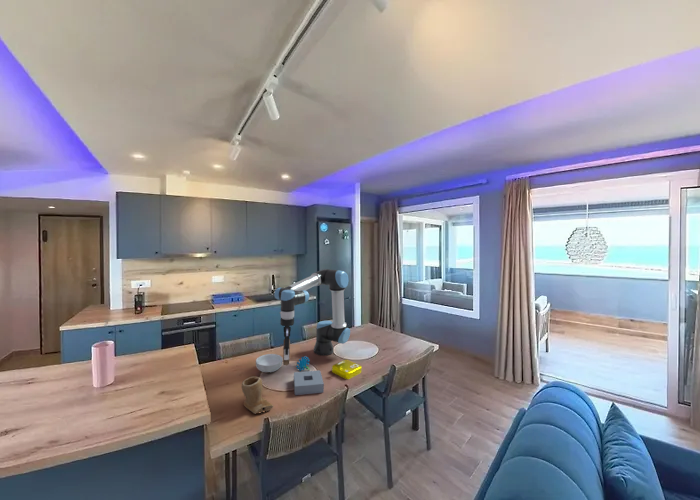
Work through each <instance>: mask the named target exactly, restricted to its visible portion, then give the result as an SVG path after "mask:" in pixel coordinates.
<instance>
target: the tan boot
mask: <svg viewBox="0 0 700 500" xmlns="http://www.w3.org/2000/svg"><path fill="white" fill-rule="evenodd" d="M241 391H242V393H243V396H244V397H245V400H244V401H243V406H244V407H245V408H246V409H247V410H249V411H250V412H251V413H253V414H255V415H257V414H256V413H259V412H263V411H266V412H268V411H270V410H271V409H273V408H274V405H273V404H272V403H271V402H270V401H268V400H267V399H265V398H264V397H262V396H263V395H262V394H263V381H262V379H261V377H260V376H250V377H247V378H246V379H244V380H243V381H242V383H241Z"/></svg>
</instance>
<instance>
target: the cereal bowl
mask: <svg viewBox="0 0 700 500" xmlns="http://www.w3.org/2000/svg"><path fill="white" fill-rule="evenodd" d="M282 365H283V356H282V355H279V354H277V353H266V354H263V355H260V356H258V357H257V358H256V359H255V367H256V369H257V370H258V371H260V372H262V373H266V372H270V373H273V372H276V371H278V370H279V369H280V368H281V367H282Z"/></svg>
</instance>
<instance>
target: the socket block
mask: <svg viewBox="0 0 700 500" xmlns="http://www.w3.org/2000/svg"><path fill="white" fill-rule="evenodd" d="M323 379H324V378H323V375H322V372H321V370H318V369H317V370H310V371H309V370H308V371H307V370H306V371H294V372H293V390H294V396H300V395H313V394H321V393H323V394H324V388H325V383H324V380H323Z"/></svg>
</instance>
